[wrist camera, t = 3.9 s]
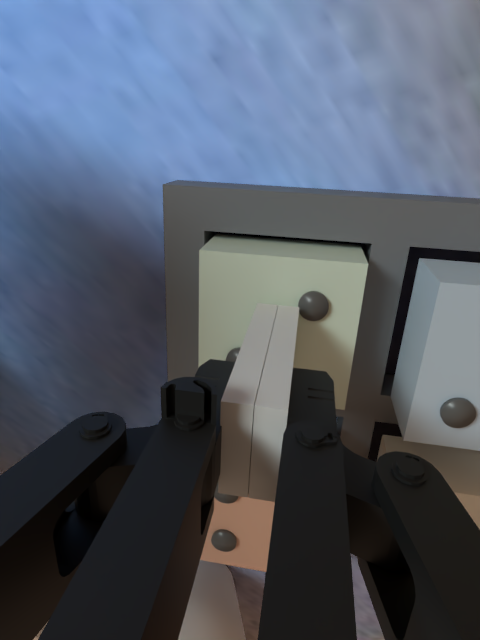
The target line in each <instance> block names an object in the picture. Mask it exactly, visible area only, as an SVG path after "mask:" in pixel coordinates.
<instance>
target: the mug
mask: <svg viewBox="0 0 480 640" xmlns="http://www.w3.org/2000/svg"><path fill="white" fill-rule="evenodd" d="M178 640H246V637H245V632H244V627H243V622H242V618H241V613H240V608H239V603H238V599H237V594H236V589H235V584H234V580H233V576H232V574H231V572H230V570H229V569H228V567H227V566H226V565H225V564H220V563H214V562H208V561H203V560H200V562H199V565H198V569H197V573H196V576H195V580H194V584H193V587H192V591H191V594H190V598H189V602H188V605H187V609H186V613H185V616H184V620H183V623H182V627H181V631H180V634H179V638H178Z"/></svg>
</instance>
